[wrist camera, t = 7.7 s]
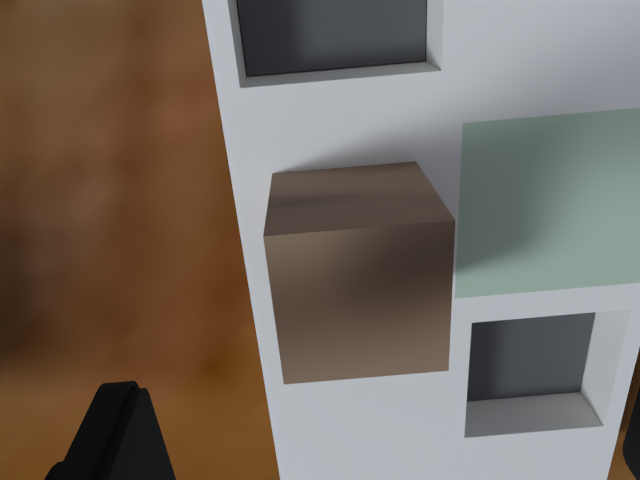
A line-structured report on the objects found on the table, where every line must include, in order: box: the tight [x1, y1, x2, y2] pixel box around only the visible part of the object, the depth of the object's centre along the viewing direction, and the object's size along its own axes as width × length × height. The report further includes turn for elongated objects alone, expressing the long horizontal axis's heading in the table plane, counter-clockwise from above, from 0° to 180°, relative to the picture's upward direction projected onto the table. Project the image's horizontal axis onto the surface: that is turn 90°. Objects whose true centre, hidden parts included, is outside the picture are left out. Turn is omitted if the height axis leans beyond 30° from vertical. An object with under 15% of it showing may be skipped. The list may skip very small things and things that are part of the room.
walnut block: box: [263, 161, 455, 385], centre depth 17 cm, size 5×5×5 cm
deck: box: [202, 0, 640, 480], centre depth 19 cm, size 29×16×4 cm, turn 4°
